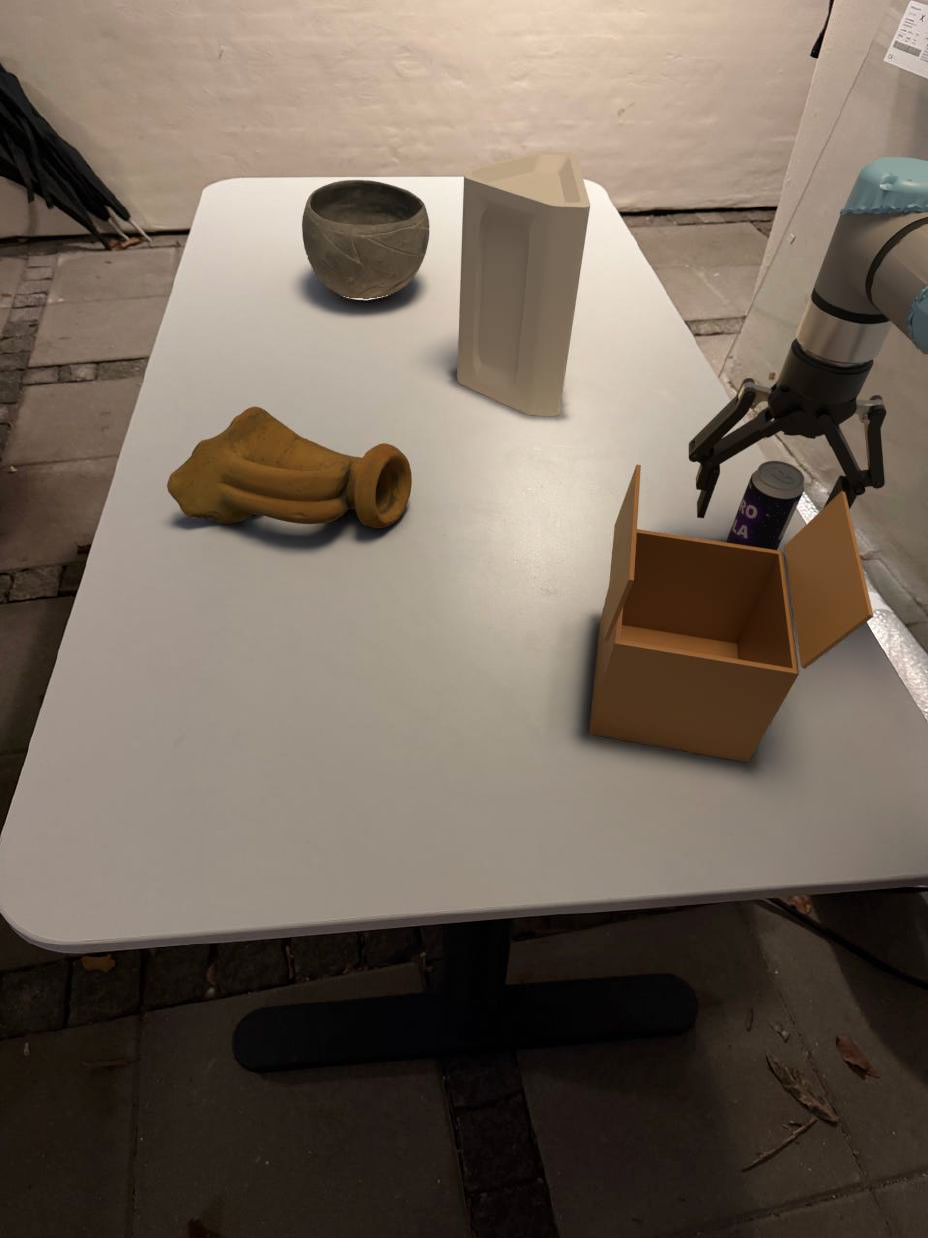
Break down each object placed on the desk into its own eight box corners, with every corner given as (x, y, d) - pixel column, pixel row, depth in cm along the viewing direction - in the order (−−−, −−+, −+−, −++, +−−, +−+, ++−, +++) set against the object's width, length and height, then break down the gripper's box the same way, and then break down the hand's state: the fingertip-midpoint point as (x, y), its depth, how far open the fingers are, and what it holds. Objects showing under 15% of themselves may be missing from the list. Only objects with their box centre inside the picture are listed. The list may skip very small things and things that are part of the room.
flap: (784, 545, 72) (788, 547, 72) (800, 667, 62) (804, 669, 62) (841, 490, 67) (845, 492, 67) (869, 614, 57) (874, 616, 57)
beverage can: (741, 533, 95) (774, 452, 86) (780, 558, 92) (818, 477, 83) (713, 552, 92) (743, 470, 83) (752, 579, 89) (788, 497, 81)
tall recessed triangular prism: (457, 345, 123) (464, 147, 102) (550, 348, 123) (575, 152, 103) (456, 412, 110) (463, 202, 90) (560, 416, 111) (591, 207, 90)
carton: (740, 644, 83) (812, 488, 67) (748, 762, 73) (835, 612, 57) (591, 619, 84) (629, 462, 69) (579, 732, 74) (620, 578, 59)
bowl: (356, 334, 124) (349, 237, 113) (283, 286, 134) (270, 193, 123) (454, 297, 134) (456, 205, 123) (379, 256, 144) (375, 167, 133)
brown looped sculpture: (267, 389, 99) (416, 411, 90) (275, 487, 105) (415, 517, 96) (155, 416, 84) (320, 446, 76) (172, 528, 90) (327, 568, 82)
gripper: (963, 345, 74) (867, 515, 90) (699, 311, 76) (651, 483, 92) (983, 387, 69) (878, 559, 85) (700, 349, 71) (649, 523, 87)
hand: (760, 519), depth 88 cm, fingers open, 13 cm apart
